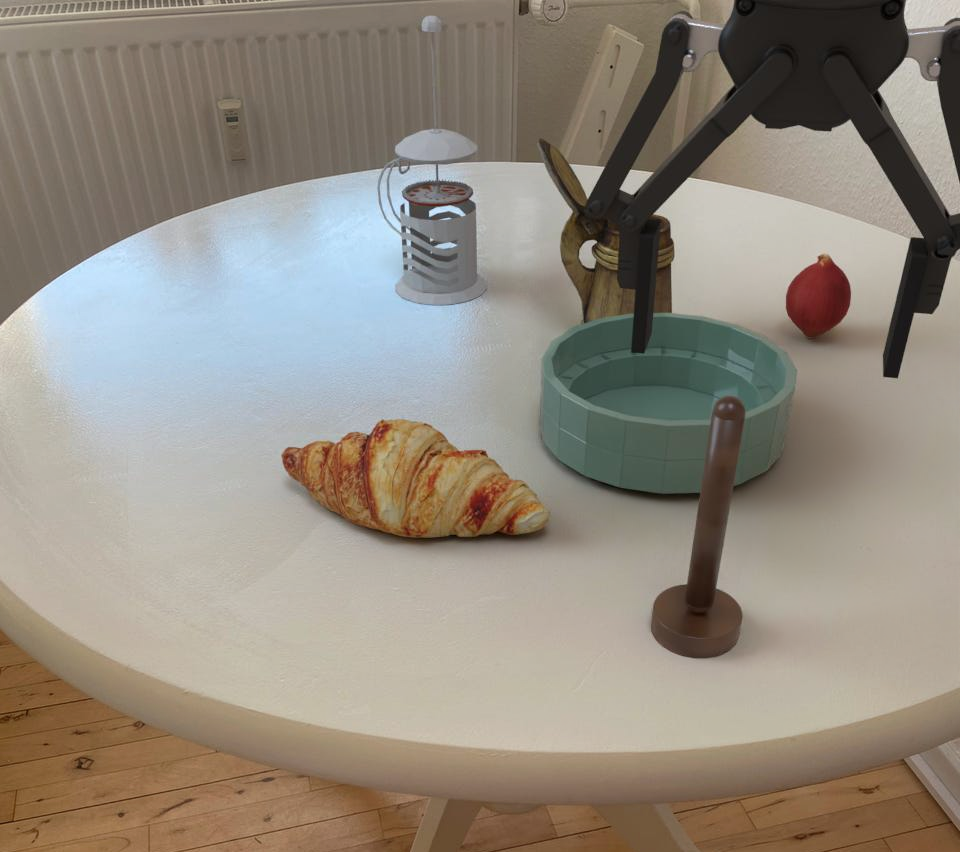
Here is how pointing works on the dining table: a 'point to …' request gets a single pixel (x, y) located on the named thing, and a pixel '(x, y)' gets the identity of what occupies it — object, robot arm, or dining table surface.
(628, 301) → the wooden mug
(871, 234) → the dining table surface
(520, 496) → the croissant
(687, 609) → the wooden paper towel stand
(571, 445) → the bowl
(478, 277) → the french press
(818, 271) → the onion
